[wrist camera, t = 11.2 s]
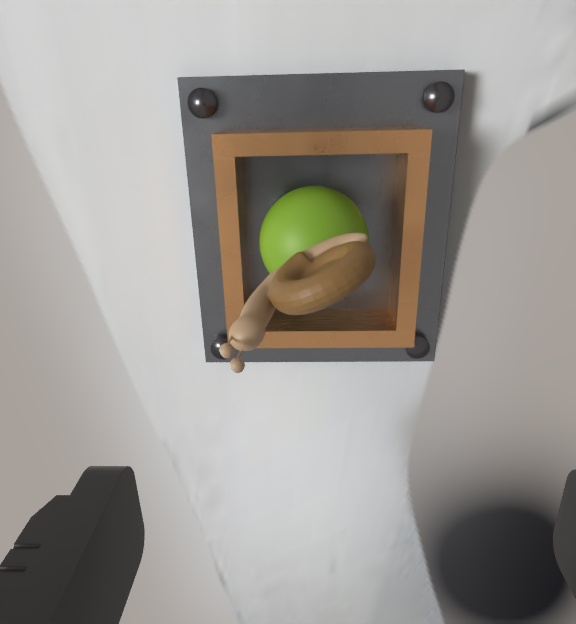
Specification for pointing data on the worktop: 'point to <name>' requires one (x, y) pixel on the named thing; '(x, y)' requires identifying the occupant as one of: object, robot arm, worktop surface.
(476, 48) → the worktop surface
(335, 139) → the socket plate
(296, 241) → the snail figurine
